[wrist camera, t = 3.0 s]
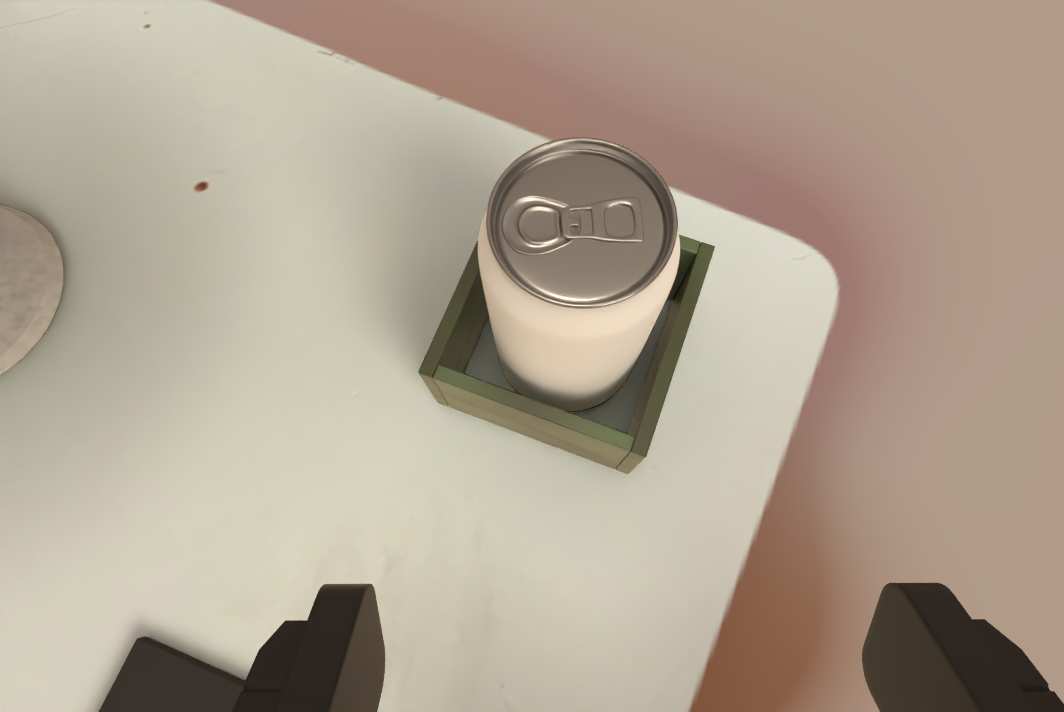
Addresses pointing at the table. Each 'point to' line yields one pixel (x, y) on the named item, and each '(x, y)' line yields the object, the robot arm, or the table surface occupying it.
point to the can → (576, 267)
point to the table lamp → (26, 283)
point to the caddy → (542, 419)
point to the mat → (170, 683)
